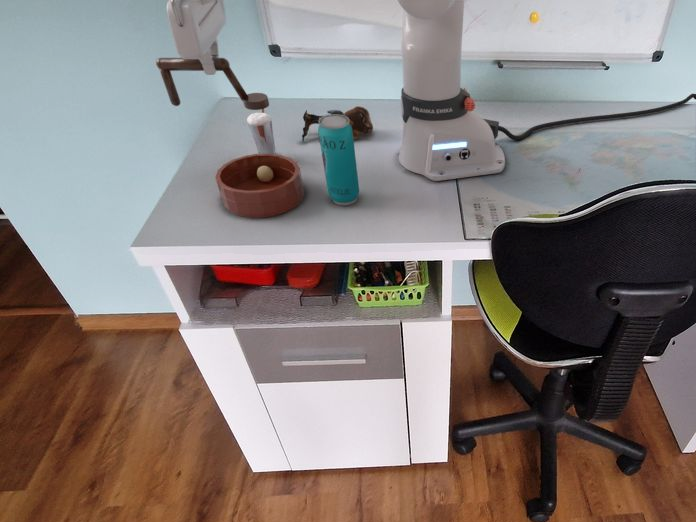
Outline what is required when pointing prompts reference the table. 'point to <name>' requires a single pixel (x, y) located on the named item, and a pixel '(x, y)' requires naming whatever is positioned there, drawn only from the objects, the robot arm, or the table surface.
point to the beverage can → (339, 158)
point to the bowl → (260, 185)
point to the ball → (265, 173)
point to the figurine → (357, 116)
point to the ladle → (178, 64)
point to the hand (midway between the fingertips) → (213, 69)
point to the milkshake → (262, 132)
